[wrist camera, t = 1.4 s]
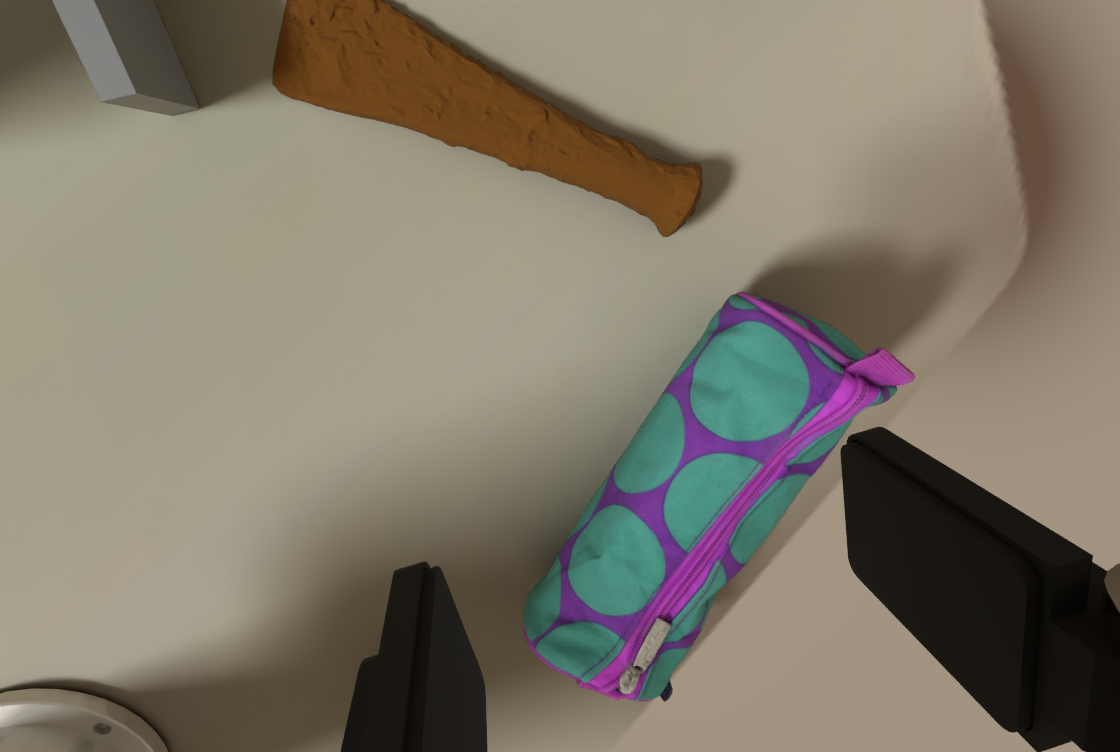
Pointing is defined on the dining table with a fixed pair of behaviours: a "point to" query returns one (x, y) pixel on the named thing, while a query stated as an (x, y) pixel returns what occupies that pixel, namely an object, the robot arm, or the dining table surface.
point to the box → (128, 54)
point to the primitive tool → (463, 104)
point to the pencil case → (699, 493)
